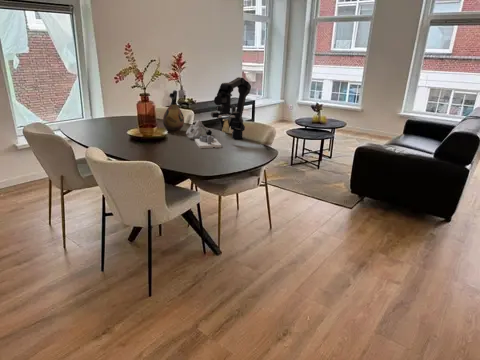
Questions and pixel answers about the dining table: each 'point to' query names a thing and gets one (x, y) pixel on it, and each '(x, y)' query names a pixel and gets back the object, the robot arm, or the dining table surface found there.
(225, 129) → the brass cylinder
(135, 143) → the dining table surface
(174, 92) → the ceramic jug
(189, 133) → the mechanical valve
